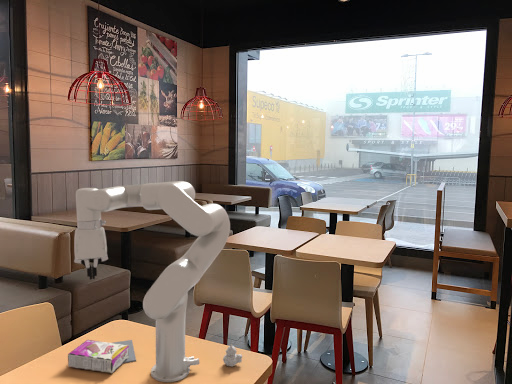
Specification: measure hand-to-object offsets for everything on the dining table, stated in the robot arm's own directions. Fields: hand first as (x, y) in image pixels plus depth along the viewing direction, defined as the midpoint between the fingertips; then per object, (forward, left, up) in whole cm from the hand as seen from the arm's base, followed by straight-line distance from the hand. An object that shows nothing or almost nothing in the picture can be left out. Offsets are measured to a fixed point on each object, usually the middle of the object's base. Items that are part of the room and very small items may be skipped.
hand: (92, 278), depth 145 cm
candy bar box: (+5, -2, -26) cm, 27 cm away
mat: (-5, -3, -29) cm, 30 cm away
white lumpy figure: (-45, +18, -30) cm, 57 cm away
